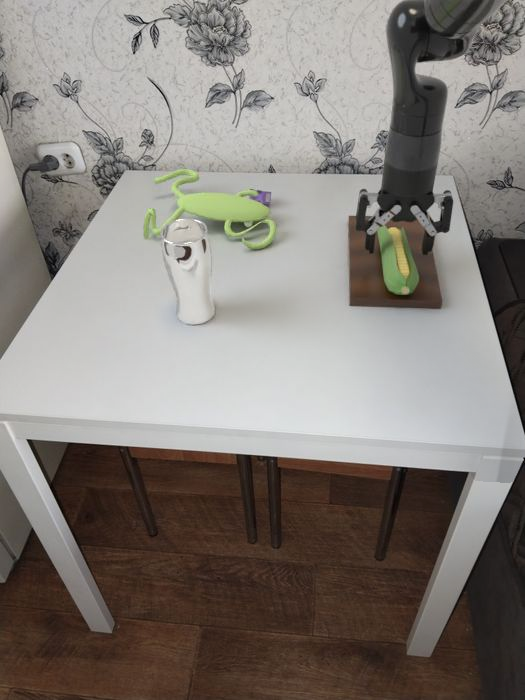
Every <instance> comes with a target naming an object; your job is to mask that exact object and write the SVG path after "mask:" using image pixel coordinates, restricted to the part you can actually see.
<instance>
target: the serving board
mask: <svg viewBox="0 0 525 700" xmlns="http://www.w3.org/2000/svg"><path fill="white" fill-rule="evenodd" d="M372 216H373V215H366V216H365V220H369V219H370V218H371V217H372ZM355 219H356V215H348V220H347V231H348V232H347V234H348V237H347V238H348V240H347V241H348V289H349V290H348V292H349V293H348V294H349V295H348V296H349V300H348V301H349V306H351V307H378V308H380V307H382V308H408V309H411V308H412V309H436V310H440V309H442V304H443V297H442V293H441V292H442V291H441V286H440V282H439V281H440V280H439V277H438V272H437V265H436V260H435V256H434V255H435V254H434V251H433V250H434V249H432V251H431V252H428V255H423V253H422V244H423V238H424V232H425V228H423V227H422V225H421V224H420V222H419V221H418V219H417V220H414V221H413V222H406V221H400V222H393V220H389V221H388V222H387V223H386V224H385V226H386V227H387V229H389V228H391V227H396V228H397V229H402V227H404V231H405V234H406V237H407V241H408V244H409V247H410V250H411V253H412V257H413V260H414V262H415V265H416V268H417V271H418V275H419V282H418V284H417V286H416V288H415V290H414V292H413V293H411V294H408V295H399V294H395V293H392V292H390V291H389V290H388V288H387V286H386V284H385V282H384V276H383V267H382V258H381V251H380V244H379V238H378V232H377V231H376V232H375V244H374V253H373V254H371V253H369V250H366V248H365V236H366V232H364V231H357V230H356V223H355Z"/></svg>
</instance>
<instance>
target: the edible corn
mask: <svg viewBox="0 0 525 700" xmlns="http://www.w3.org/2000/svg"><path fill="white" fill-rule="evenodd" d="M377 232H378V238H379V244H380V251H381V258H382V267H383V276H384V282H385V284H386V286H387V288H388V290H389V291H390V292H392V293H395V294H399V295H408V294H411V293H413V292H414V290H415V288H416V286H417V284H418V282H419V275H418V271H417V268H416V265H415V262H414V260H413V257H412V253H411V250H410V247H409V244H408V241H407V237H406V234H405V231H404V227H402V229H397V228H396V227H391V228H389V229H387V227H386V226H385V225H384V226H383V227H380V228H379V229H378V230H377Z"/></svg>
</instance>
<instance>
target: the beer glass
mask: <svg viewBox="0 0 525 700" xmlns="http://www.w3.org/2000/svg"><path fill="white" fill-rule="evenodd" d="M160 240H161V241H160V242H161V252H162V256H163V262H164V268H165V271H166V274H167V276H168V279H169V281H170V284H171V286H172V289H173V291H174V294H175V298H176V299H175V300H176V311H175V313H176V317H177V319H178V320H179V321H180V322H182V323H184V324H186V325H193V326H194V325H195V326H197V325H202V324H205V323H207V322H209V321H210V320H212V318H213V317H214V316H215V314H216V307H215V303H214V300H213V298H212V293H211V292H212V291H211V284H212V273H213V253H212V246H211V241H210V237H209V231H208V226H207V225H206V223H205V222H204V221H202V220H199V219H198V218H197V219H196V218H191V217H184V218H183V217H182V218H178V219H177V220H174V221H171V222H169V223H167V224H166V225H165V226H164V227H163V228H162V229H161V235H160Z"/></svg>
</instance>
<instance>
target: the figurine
mask: <svg viewBox="0 0 525 700" xmlns="http://www.w3.org/2000/svg"><path fill="white" fill-rule="evenodd" d="M180 176H184V177H180ZM177 177H180V178H179V179H176V180H175V181H173V183H172V184H171V186H170V190H171V192H172V194H174V196H176V197H177V198H178V199H177V200H176V205H177V207H178V208H177V209H176V210H175V211H174V213H173V214H172V215H171V216H170V217H169V218H168V219H166V221H164V223H163V224H162V225H161V226H160V227H159V228H157V225H156V224H157V223H156V222H157V212H156V209H155V208H154V207H153V208H151V207H150V208H148V209H147V210H146V213H145V216H144V221H143V238H144V239H148V238H149V237H150V233H149V232H150V230H151V232H152V235H153V236H161V229H162V228H163V227H164V226H165V225H166V224H167V223H169V222H171V221H174V220H177V219H180V217H181V216H182V214H183V213H188V214H191V215H193V216H196V217H200V218H204V219H209V220H210V221H211V222H214V221H218V222H219V221H220V222H224V228H223V229H224V232H225V234H226V235H227V236H229V237H230V238H237V237H240V236H243V235H244V234H247V233H248V232H250V231H251V230H253V229H254V228H255V227H256V226H257V225H260V224H263V223H264V224H267V225H268V227H269V233H268V235H267V236H266V238H265V239H264V240H262V241H260V242H255V243H253V242H248V241H247V240H245V239H244V237H242V238H241V241H242V244H243V245H244V246H245V247H247V249H251V250H261V249H265V248H266V247H267V246H269V245H270V244H272V242H273V241H274V239H275V238H276V235H277V232H278V231H277V225H276V223H275V221H274V220H271V219H269V218H268V217H269V216H270V215H271V214H272V212H271V210H270V207H268V206H266V205H265V204H269V205H271V198H272V191H265V190H260V189H257V190H256V189H253V188H249V189H245V190H240V191H238V192H237V193H236V194H231V193H222V192H194V193H187V194H184V193H183V192H182V191H181V190H180V189H178V188H179V186H182V185H185V184H191V183H192V184H193V183H196V182H198V181H199V180H200V175H199V173H198V172H197V171H196V170H193V169H189V168H180V169H177V170H175V171H173V172H170V173H167V174H165V175H162V176H159V177H155V178H154V185H158V184H161V183H164V182H167V181H170V180H173V179H175V178H177ZM257 221H259V222H257ZM254 222H257V223H255V224H254ZM232 223H239V224H240V223H243V224H244V226H245V227H246V228H247V229H245V230H243V231H241V232H234V231H233V230H232ZM253 224H254V225H253Z"/></svg>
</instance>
